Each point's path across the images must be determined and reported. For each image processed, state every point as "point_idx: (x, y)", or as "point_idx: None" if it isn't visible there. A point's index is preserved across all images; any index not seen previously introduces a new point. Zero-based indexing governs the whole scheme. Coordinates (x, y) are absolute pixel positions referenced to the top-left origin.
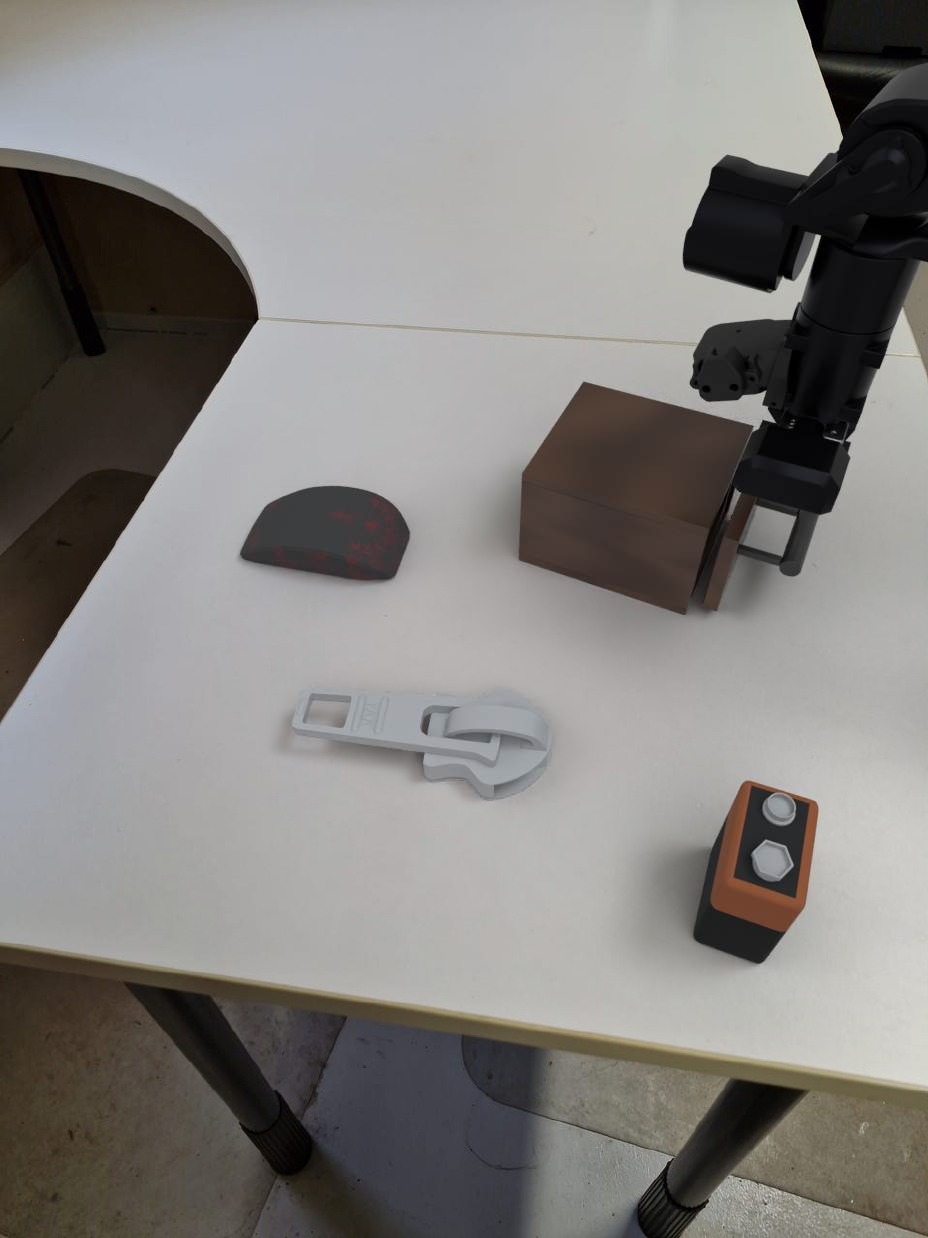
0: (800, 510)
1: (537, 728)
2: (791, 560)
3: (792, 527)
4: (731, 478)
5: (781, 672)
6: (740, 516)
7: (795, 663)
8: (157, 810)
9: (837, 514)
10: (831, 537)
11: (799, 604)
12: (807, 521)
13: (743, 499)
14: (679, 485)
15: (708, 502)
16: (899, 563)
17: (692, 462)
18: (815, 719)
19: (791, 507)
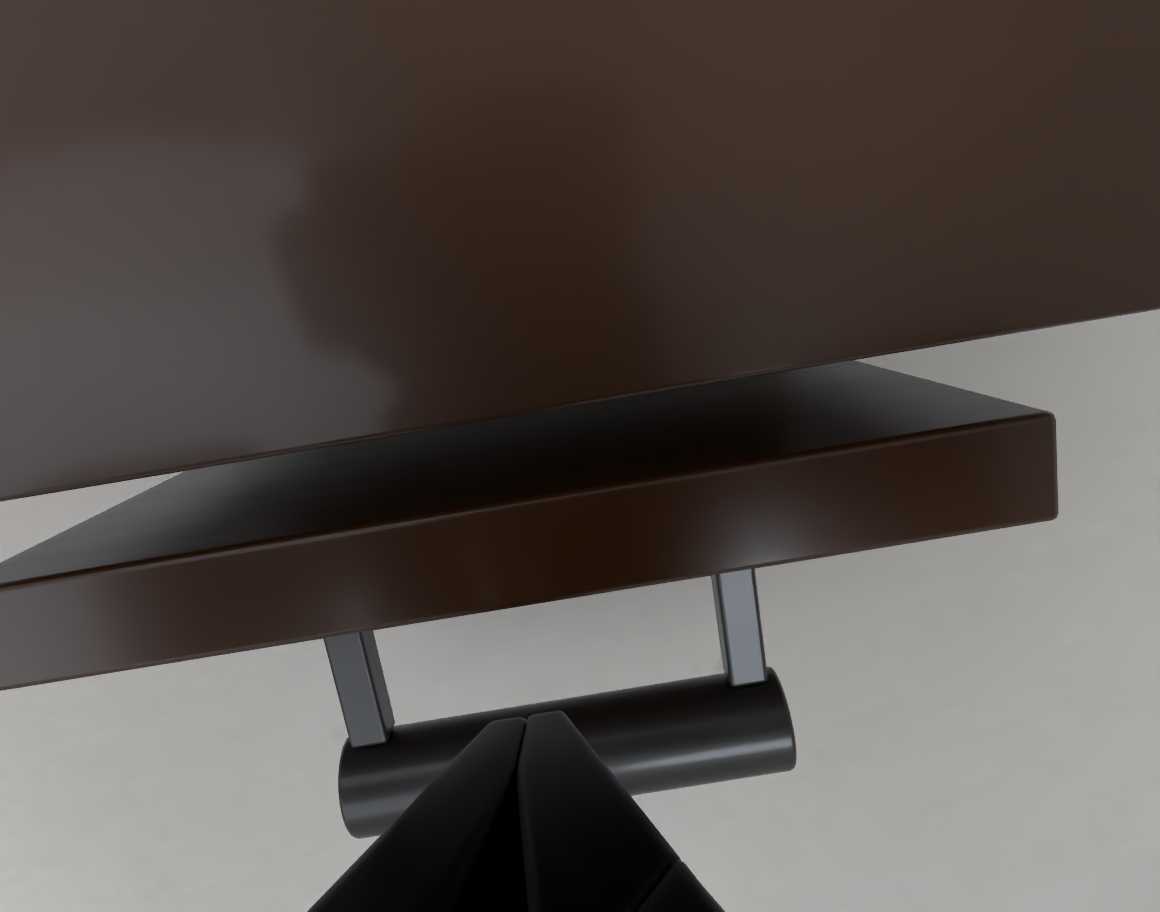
0: (737, 702)
1: None
2: (347, 809)
3: (624, 696)
4: (419, 431)
5: (210, 750)
6: (186, 612)
7: (272, 769)
8: None
9: (1024, 640)
10: (892, 664)
11: (516, 692)
12: (654, 772)
13: (362, 558)
14: (14, 88)
15: (11, 406)
16: (879, 874)
17: (388, 41)
18: (118, 883)
19: (742, 654)
